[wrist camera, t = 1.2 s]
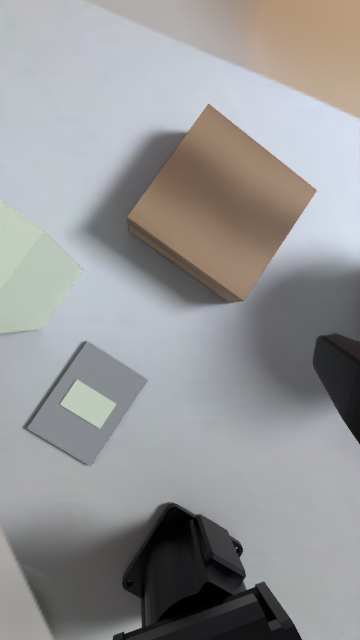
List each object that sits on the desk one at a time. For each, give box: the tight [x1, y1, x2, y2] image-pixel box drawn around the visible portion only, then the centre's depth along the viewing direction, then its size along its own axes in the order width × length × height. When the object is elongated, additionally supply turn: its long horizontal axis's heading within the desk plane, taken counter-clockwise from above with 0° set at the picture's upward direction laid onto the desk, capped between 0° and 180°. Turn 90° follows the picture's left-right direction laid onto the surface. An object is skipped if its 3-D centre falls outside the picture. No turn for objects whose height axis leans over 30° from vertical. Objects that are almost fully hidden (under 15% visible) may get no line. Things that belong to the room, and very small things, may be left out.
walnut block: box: [127, 104, 317, 303], centre depth 22 cm, size 9×9×4 cm
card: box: [27, 341, 148, 466], centre depth 22 cm, size 7×5×1 cm
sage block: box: [0, 200, 84, 333], centre depth 17 cm, size 5×5×10 cm
